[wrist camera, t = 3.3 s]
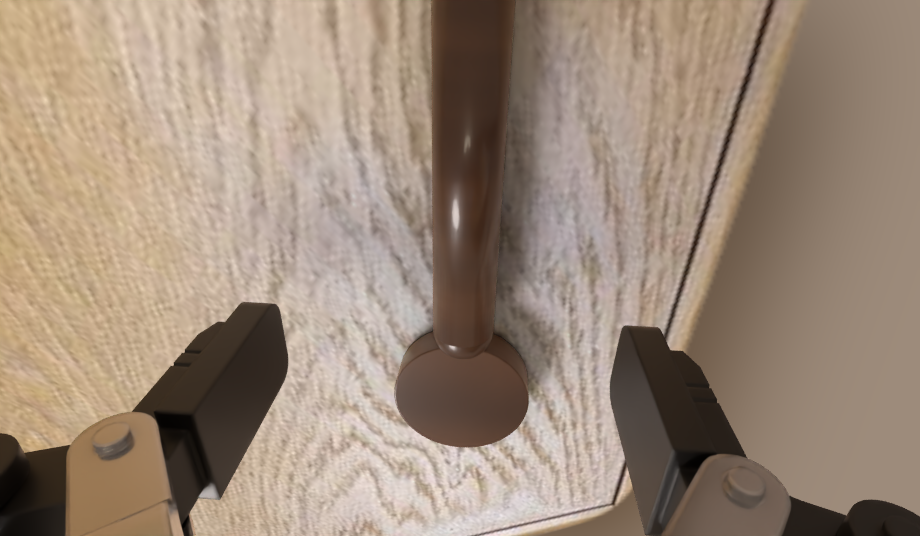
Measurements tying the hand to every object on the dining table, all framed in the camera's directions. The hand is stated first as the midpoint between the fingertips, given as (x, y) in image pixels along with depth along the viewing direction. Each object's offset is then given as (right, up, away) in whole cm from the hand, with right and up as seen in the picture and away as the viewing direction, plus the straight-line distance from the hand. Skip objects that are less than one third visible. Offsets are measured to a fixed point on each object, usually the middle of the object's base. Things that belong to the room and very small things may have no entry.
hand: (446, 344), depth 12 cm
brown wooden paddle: (+1, +3, +4) cm, 5 cm away
